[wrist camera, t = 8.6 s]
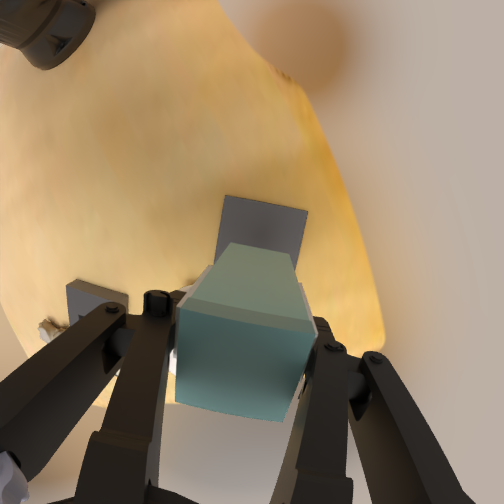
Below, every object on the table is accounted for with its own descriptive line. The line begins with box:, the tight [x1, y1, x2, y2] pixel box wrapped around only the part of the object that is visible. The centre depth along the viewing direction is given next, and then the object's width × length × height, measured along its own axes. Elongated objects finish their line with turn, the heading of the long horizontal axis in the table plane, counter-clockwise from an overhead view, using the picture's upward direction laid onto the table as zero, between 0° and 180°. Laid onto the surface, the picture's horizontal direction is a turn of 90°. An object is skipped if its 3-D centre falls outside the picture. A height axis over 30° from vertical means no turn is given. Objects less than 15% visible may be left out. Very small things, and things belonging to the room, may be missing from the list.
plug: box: [175, 242, 316, 422], centre depth 15 cm, size 5×5×12 cm
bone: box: [38, 319, 66, 343], centre depth 35 cm, size 9×6×10 cm
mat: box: [214, 195, 308, 271], centre depth 33 cm, size 10×10×1 cm
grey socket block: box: [66, 279, 128, 376], centre depth 36 cm, size 14×10×3 cm
